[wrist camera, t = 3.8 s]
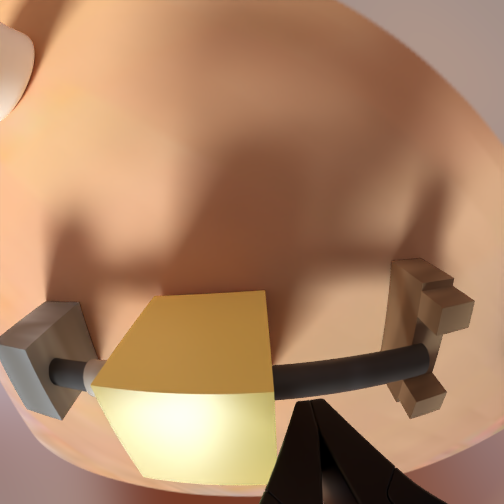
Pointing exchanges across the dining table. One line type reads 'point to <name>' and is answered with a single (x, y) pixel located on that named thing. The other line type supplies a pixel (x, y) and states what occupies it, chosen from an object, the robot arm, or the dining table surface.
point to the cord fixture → (284, 376)
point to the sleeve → (195, 390)
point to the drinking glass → (14, 67)
